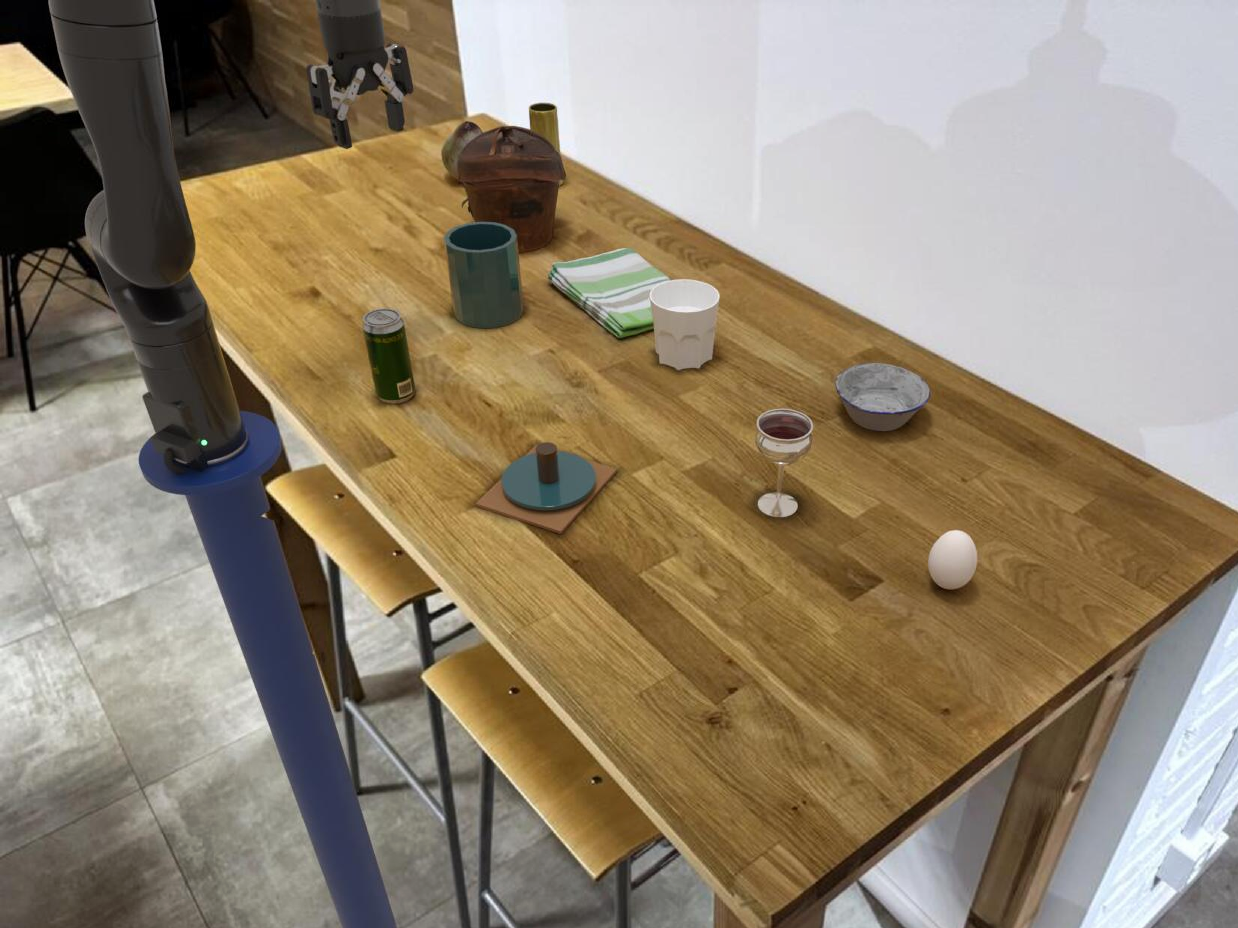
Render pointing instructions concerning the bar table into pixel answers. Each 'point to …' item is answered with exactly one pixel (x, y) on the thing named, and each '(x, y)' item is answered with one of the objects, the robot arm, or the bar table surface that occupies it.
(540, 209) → the case
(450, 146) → the fruit
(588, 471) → the lid with knob
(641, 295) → the dish towel
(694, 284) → the cup
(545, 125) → the vase
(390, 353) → the beer can
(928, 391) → the bowl
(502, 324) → the teal hollow cylinder
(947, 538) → the egg
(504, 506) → the mat
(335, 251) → the bar table surface
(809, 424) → the wineglass
